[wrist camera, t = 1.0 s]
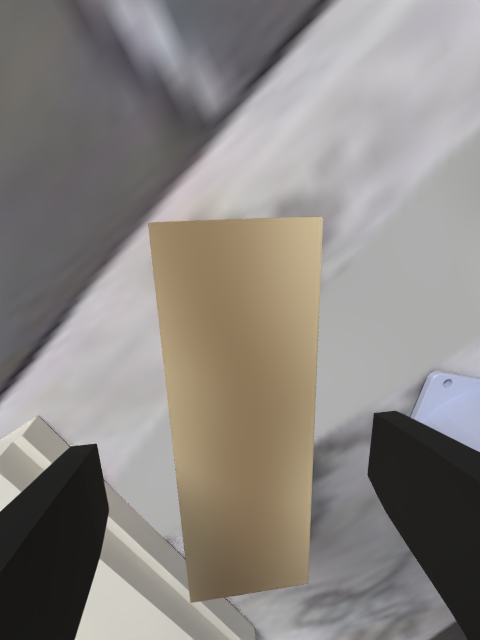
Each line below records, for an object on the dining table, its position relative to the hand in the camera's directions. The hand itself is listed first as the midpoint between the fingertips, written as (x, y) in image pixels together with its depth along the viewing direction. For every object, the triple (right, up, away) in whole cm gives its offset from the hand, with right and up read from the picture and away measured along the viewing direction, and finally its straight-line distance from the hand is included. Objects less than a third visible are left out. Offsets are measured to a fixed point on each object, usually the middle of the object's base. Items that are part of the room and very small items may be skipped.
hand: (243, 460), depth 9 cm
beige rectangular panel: (-1, +2, +7) cm, 8 cm away
